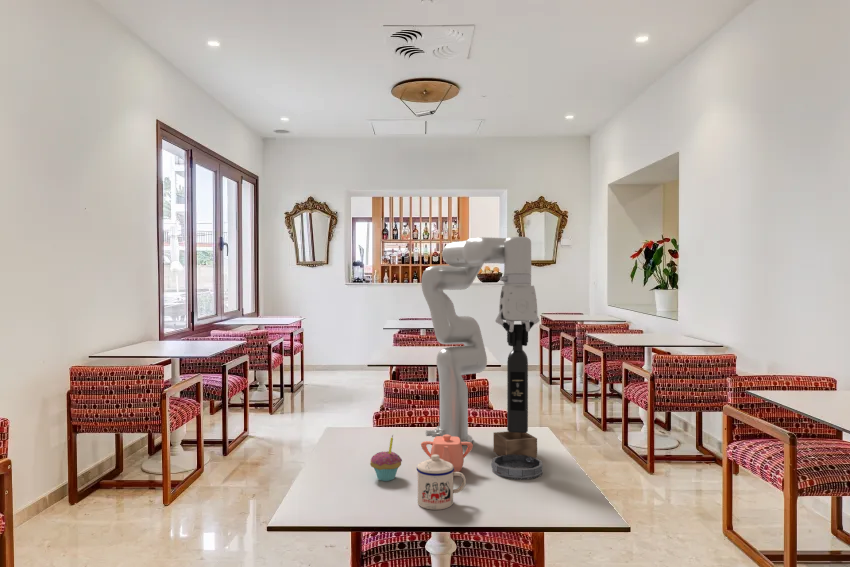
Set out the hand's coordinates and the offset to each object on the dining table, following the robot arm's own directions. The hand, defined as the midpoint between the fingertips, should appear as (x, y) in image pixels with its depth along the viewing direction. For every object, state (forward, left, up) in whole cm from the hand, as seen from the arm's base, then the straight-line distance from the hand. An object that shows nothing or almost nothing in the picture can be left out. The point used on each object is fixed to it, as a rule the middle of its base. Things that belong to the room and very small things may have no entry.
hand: (517, 345), depth 162 cm
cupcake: (-37, +5, -36) cm, 52 cm away
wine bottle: (0, 0, -24) cm, 24 cm away
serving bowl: (0, 0, -36) cm, 36 cm away
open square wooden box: (+6, +14, -36) cm, 39 cm away
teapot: (-19, +6, -36) cm, 41 cm away
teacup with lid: (-28, -16, -36) cm, 48 cm away
